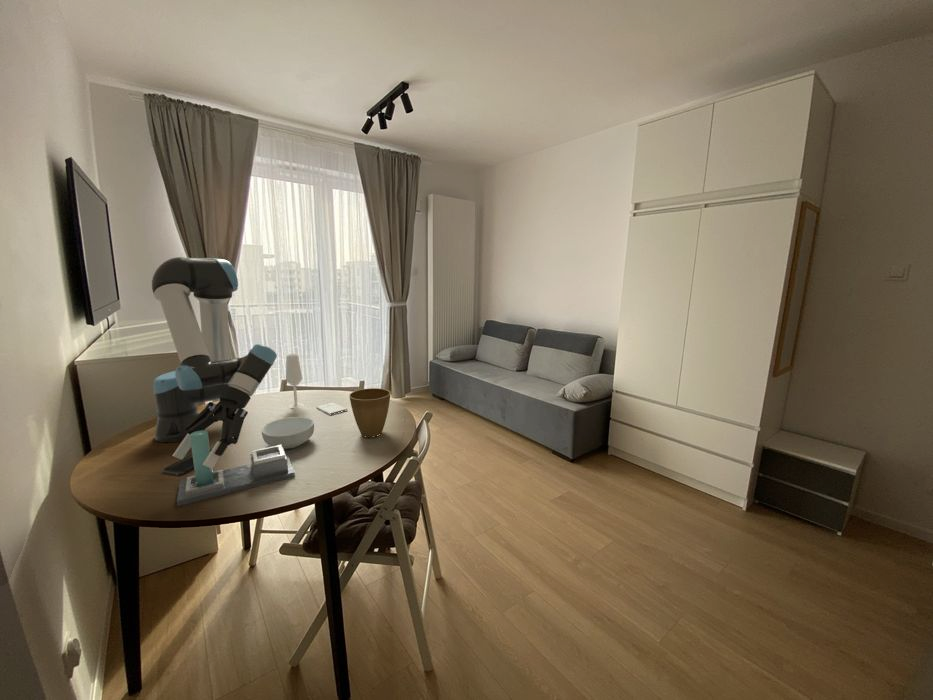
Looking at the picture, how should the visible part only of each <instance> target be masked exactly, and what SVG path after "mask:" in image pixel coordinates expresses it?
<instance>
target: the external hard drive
mask: <svg viewBox="0 0 933 700" xmlns="http://www.w3.org/2000/svg"><path fill="white" fill-rule="evenodd" d="M317 408H318V409H320V410H322V411H323V412H322V411H321V412H322V413H324V412H326V413H327V414H326V413H325V414H326V415H328V414H329V415H328V416H331V415H330V414H334V413H338V412H341V411H345V410H347V411H348V409H347V408H345V407H344V406H341V405H339V404H337V403H335V402H329V403H325V404H320V405H317V406H316V409H317ZM318 409H317V410H318ZM320 410H319V411H320ZM345 412H346V411H345ZM341 413H342V412H341ZM338 414H339V413H338ZM334 415H335V414H334Z"/></svg>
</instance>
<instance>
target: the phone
mask: <svg viewBox="0 0 933 700" xmlns="http://www.w3.org/2000/svg"><path fill="white" fill-rule="evenodd" d="M211 450H212V449H211V448H210V452H211ZM193 469H194V463H193V455H192V454H190V455H188V456H186V457H184V458H183V459H179V460H178V461H176V462H174V463H172V464H171V465H168V466H166V467H165V468H163V469H162V473H163V472H164V473H163V474H167V473H169V474H168V475H174V474H177V475H176V476H184V475H186V474H188V473H190V472H192V471H193ZM191 470H192V471H191ZM183 474H184V475H183Z"/></svg>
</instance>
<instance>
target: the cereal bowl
mask: <svg viewBox="0 0 933 700" xmlns="http://www.w3.org/2000/svg"><path fill="white" fill-rule="evenodd" d="M314 432H315V421H314V420H313V419H311V418H310V417H307V416H306V417H305V416H293V417H285V418H280V419H276V420H274V421H271V422H269V423H266V424H265V425H264V426H263V427H262V429H261V435H262V436H261V437H262V439H263V441H264V443H266V445H268V447H272V446H277V445H281V446H282V447H283V449H284V450H288V449H287V448H290V449H294V448H297V447H299V446H301V445H302V444H304V443H306V442H307V441H309V440H310V438H311V437H312V436H313V434H314ZM300 444H301V445H300ZM296 446H297V447H296ZM293 447H294V448H293Z"/></svg>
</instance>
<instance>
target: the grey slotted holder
mask: <svg viewBox="0 0 933 700" xmlns="http://www.w3.org/2000/svg"><path fill="white" fill-rule="evenodd" d="M249 456H250V464H246V465H242V466H238V467H237V466H236V467H233V468H229V469H228V468H227V469H224V470H223V469H219V470H214V471H213V477H214V483H212V484H208V485H203V486H199V487H197V484H196V477H195V475H191V476H186V478H182V479H180V480H179V486H178V492H177V498H176V506H177V507H181V506H184V505H188V504H189V505H190V504H192V503H196V502H200V501H205V500H209V499H212V498H215V497H221V496H225V495H228V494H232V493H235V492H240V491H244V490H248V489H251V488H256V487H260V486H263V485H268V484H271V483H276V482H279V481H284V480H287V479H292V478H295V475H296V474H295V472H296V471H295V470H294V467H293V465H292V462H291V459H290V457H289V455H286V452H285V449H283V447H282V446H281V445H277V446H268V447H263V448H262V447H261V448H259V449H254V450H251V454H250V455H249Z"/></svg>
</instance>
